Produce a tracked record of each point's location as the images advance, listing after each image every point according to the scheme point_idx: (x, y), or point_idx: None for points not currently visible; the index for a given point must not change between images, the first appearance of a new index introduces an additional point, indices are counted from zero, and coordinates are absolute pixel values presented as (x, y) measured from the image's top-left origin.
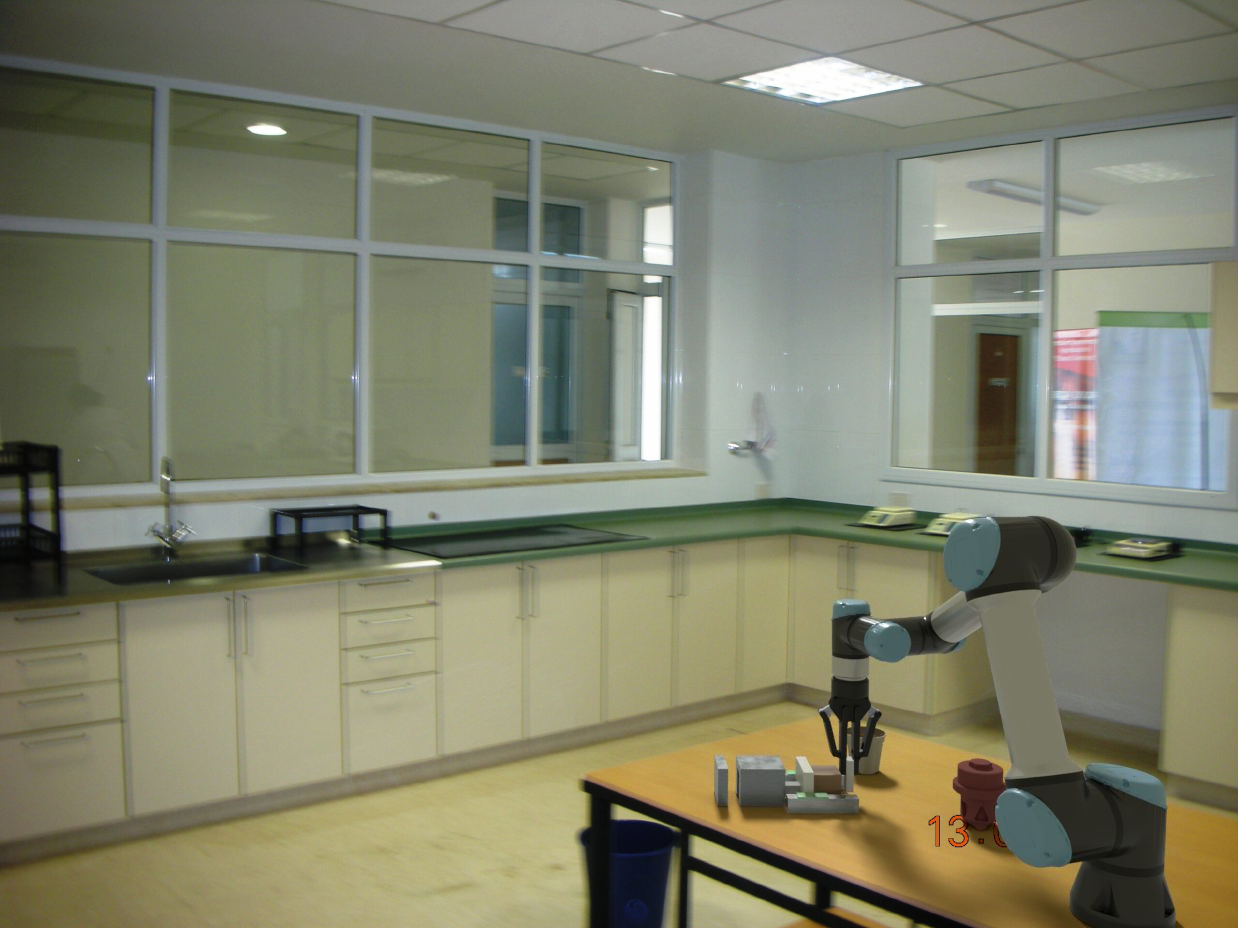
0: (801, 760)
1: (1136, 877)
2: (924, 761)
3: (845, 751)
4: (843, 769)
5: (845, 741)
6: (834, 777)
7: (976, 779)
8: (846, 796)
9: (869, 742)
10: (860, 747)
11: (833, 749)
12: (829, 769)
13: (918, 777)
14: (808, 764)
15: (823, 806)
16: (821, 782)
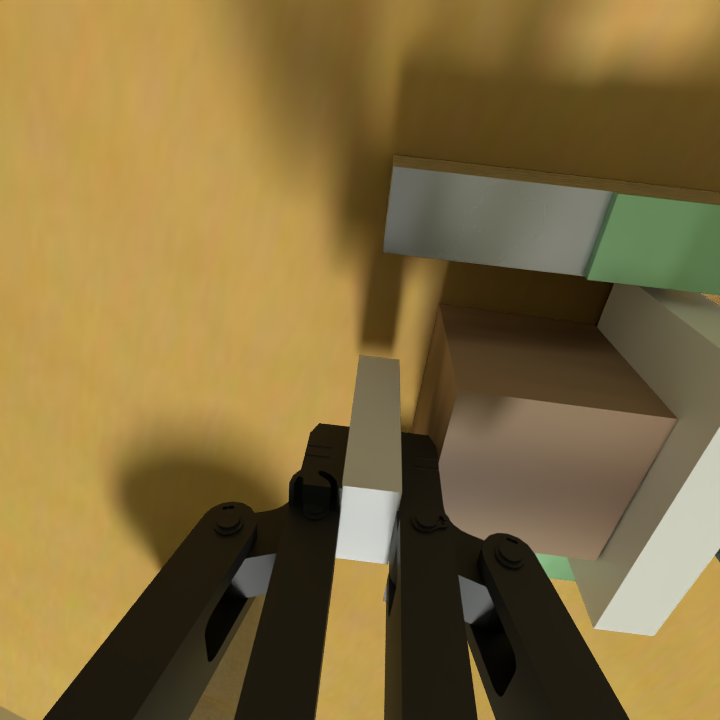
0: (661, 584)
1: None
2: (9, 624)
3: (414, 566)
4: (415, 458)
5: (421, 674)
6: (505, 387)
7: None
8: (464, 222)
9: (140, 628)
10: (213, 685)
11: (537, 598)
12: (491, 489)
13: (31, 526)
14: (664, 524)
15: (624, 185)
16: (584, 379)
